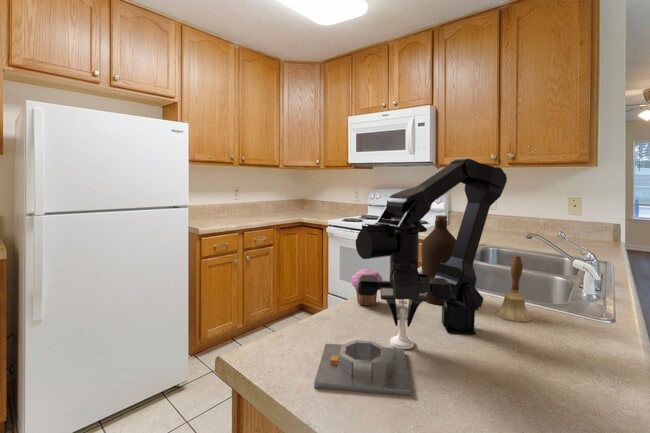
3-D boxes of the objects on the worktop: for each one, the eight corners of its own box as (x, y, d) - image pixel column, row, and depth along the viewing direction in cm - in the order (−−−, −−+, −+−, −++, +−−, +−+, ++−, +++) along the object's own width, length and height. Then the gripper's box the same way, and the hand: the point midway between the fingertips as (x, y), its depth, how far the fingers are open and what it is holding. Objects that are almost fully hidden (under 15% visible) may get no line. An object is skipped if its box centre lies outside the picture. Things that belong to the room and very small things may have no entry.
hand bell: (534, 315, 89) (538, 255, 88) (528, 325, 83) (532, 261, 81) (499, 307, 94) (502, 251, 93) (491, 316, 88) (494, 256, 87)
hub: (403, 353, 69) (403, 336, 69) (410, 395, 55) (411, 375, 55) (325, 348, 72) (325, 332, 71) (314, 387, 58) (314, 368, 57)
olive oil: (465, 300, 100) (468, 216, 97) (443, 309, 93) (446, 218, 91) (433, 291, 108) (436, 213, 106) (412, 298, 102) (414, 215, 99)
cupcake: (351, 308, 94) (351, 273, 93) (350, 298, 102) (351, 265, 101) (384, 309, 93) (384, 273, 92) (380, 298, 102) (381, 265, 101)
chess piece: (414, 350, 70) (415, 303, 69) (390, 348, 71) (391, 301, 70) (413, 339, 75) (414, 295, 74) (390, 337, 76) (391, 294, 75)
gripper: (357, 261, 65) (356, 340, 66) (460, 264, 62) (456, 346, 64) (359, 249, 76) (359, 317, 77) (447, 252, 73) (444, 322, 75)
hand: (402, 325), depth 73 cm, fingers closed on chess piece, 2 cm apart
